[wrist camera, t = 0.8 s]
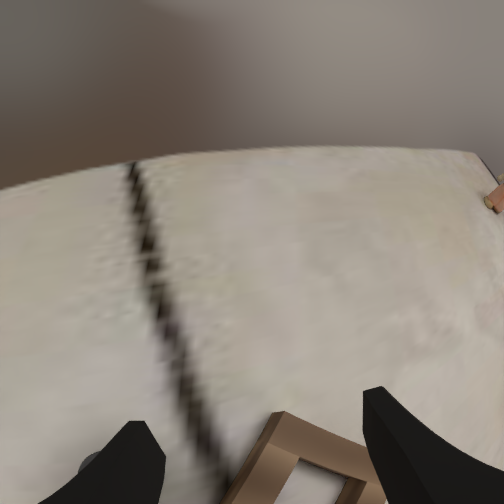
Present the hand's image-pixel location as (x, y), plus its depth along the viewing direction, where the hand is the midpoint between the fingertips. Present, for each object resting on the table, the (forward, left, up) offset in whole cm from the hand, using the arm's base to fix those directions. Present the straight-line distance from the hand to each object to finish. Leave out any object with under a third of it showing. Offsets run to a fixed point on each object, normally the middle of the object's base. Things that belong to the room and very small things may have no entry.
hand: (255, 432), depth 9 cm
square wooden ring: (-2, -9, -14) cm, 17 cm away
